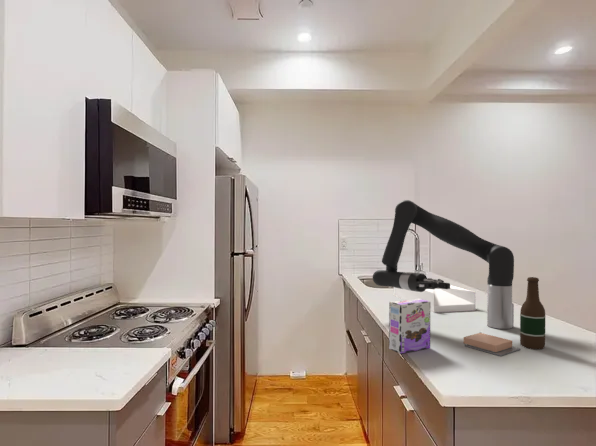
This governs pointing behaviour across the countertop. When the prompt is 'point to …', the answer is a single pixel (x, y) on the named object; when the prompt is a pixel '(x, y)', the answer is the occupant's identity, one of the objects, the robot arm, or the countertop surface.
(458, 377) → the countertop surface
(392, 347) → the candy box
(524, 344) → the beer bottle
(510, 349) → the slate mat
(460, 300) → the building model
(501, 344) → the tile
